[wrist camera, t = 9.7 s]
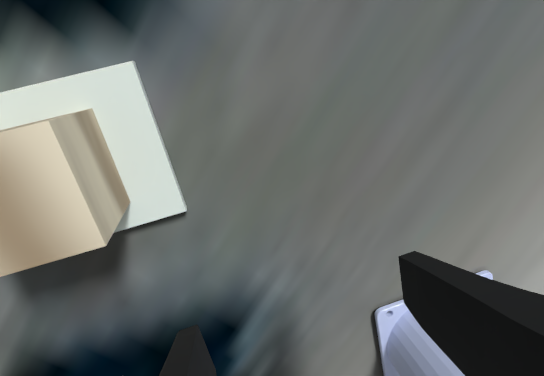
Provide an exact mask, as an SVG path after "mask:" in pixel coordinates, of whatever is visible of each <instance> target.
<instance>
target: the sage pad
mask: <svg viewBox="0 0 544 376" xmlns="http://www.w3.org/2000/svg"><path fill="white" fill-rule="evenodd" d="M90 108H92V109H93V111H94V114H95V116H96V119H97V121H98V124H99V126H100V128H101V131H102V133H103V136H104V138H105V141H106V143H107V146H108V148H109V151H110V153H111V155H112V158H113V160H114V163H115V165H116V168H117V170H118V173H119V175H120V177H121V180H122V182H123V185H124V187H125V190H126V192H127V195H128V197H129V199H130V203H129V205H128V207H127V209H126V211H125V213H124V214H123V216H122V218H121V220H120V222H119V224H118V225H117V227H116V229H115V231H114V233H115V232H118V231H121V230H125V229H128V228H131V227H135V226H138V225H142V224H145V223H148V222H152V221H155V220H158V219H162V218H165V217H168V216H172V215H175V214H179V213H182V212H185V211H187V206H186V203H185V201H184V198H183V195H182V192H181V190H180V187H179V184H178V181H177V178H176V176H175V173H174V170H173V167H172V164H171V162H170V159H169V156H168V153H167V151H166V148H165V145H164V142H163V139H162V137H161V134H160V131H159V128H158V125H157V123H156V120H155V117H154V114H153V111H152V109H151V106H150V103H149V100H148V98H147V95H146V92H145V89H144V86H143V84H142V81H141V78H140V75H139V72H138V70H137V67H136V64H135V61H130V62H126V63H122V64H117V65H113V66H109V67H105V68H101V69H97V70H92V71H88V72H84V73H80V74H76V75H72V76H68V77H63V78H59V79H55V80H51V81H47V82H43V83H38V84H34V85H30V86H26V87H22V88H18V89H13V90H9V91H5V92H1V93H0V130H3V129H7V128H12V127H16V126H20V125H24V124H28V123H32V122H36V121H41V120H45V119H49V118H53V117H57V116H61V115H66V114H70V113H74V112H78V111H82V110H86V109H90Z"/></svg>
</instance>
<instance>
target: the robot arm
mask: <svg viewBox="0 0 544 376" xmlns="http://www.w3.org/2000/svg"><path fill="white" fill-rule="evenodd" d="M399 265H400V273H401V282H402V291H403V300H400V301H397V302H394V303H391V304H389V305H386V306H383V307H380V308H378V309H377V310H376V311H375V321H376V328H377V334H378V340H379V347H380V353H381V360H382V366H383V373H384V376H544V295H541V294H538V293H534V292H530V291H526V290H523V289H520V288H516V287H513V286H510V285H507V284H504V283H501V282H497V281H494V280H493V276H492V274H491V273H490V272H489V271H486V270H485V271H481V272H478V273H476V274H474V273H472V272H469V271H466V270H463V269H461V268H458V267H456V266H453V265H450V264H448V263H445V262H443V261H440V260H437V259H435V258H432V257H430V256H427V255H424V254H421V253H419V252H416V251H413V252H410V253H407V254H404V255H401V256H399ZM388 311H389V312H388ZM387 312H388V313H387ZM159 376H216V369H215V367H214V364H213V362H212V359H211V357H210V355H209V352H208V350H207V347H206V345H205V342H204V340H203V337H202V335H201V332H200V330H199V327H198V325H195V326H192V327H189V328H186V329H183V330H180V331H179V332H178V334H177V335H176V338H175V340H174V343H173V345H172V347H171V350H170V352H169V354H168V357H167V359H166V361H165V363H164V366H163V368H162V370H161V372H160V374H159Z"/></svg>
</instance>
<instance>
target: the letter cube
mask: <svg viewBox="0 0 544 376" xmlns="http://www.w3.org/2000/svg"><path fill="white" fill-rule="evenodd" d="M129 203H130V199H129V197H128V195H127V192H126V190H125V187H124V185H123V182H122V180H121V177H120V175H119V173H118V170H117V168H116V165H115V163H114V160H113V158H112V155H111V153H110V151H109V148H108V146H107V143H106V141H105V138H104V136H103V133H102V131H101V128H100V126H99V124H98V121H97V119H96V116H95V114H94V111H93V109H92V108H90V109H86V110H82V111H78V112H74V113H70V114H66V115H61V116H57V117H53V118H49V119H45V120H41V121H36V122H32V123H28V124H24V125H20V126H16V127H12V128H7V129H3V130H0V277H1V276H5V275H8V274H12V273H15V272H18V271H22V270H25V269H29V268H32V267H36V266H39V265H43V264H46V263H49V262H53V261H56V260H60V259H63V258H67V257H70V256H74V255H77V254H80V253H84V252H87V251H91V250H94V249H98V248H101V247H105V246H106V245H107V244H108V242H109V240H110V238H111V236H112V234H113V233H114V231H115V229H116V227H117V225H118V224H119V222H120V220H121V218H122V216H123V214H124V213H125V211H126V209H127V207H128V205H129Z"/></svg>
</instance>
